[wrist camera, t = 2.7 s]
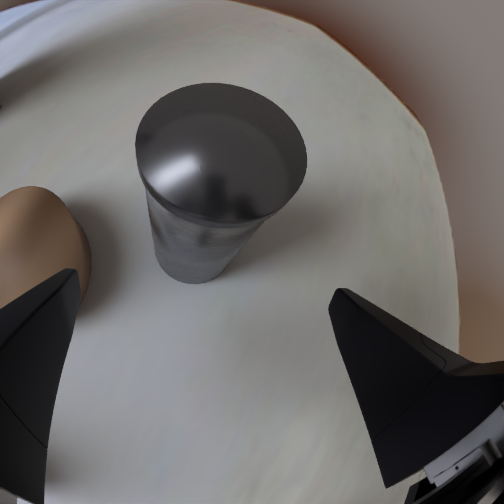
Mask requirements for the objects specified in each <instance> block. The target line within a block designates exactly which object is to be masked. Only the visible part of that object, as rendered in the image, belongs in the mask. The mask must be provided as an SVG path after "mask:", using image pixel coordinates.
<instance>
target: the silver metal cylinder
mask: <svg viewBox="0 0 504 504" xmlns="http://www.w3.org/2000/svg"><path fill="white" fill-rule="evenodd" d="M135 147H136V158H137V166H138V170H139V174H140V177H141V179H142V181H143V184H144V185H145V188H146V196H147V204H148V211H149V218H150V224H151V230H152V236H153V242H154V248H155V253H156V257H157V260H158V262H159V264H160V266H161V267H162V269H163V270H164V271H165V272H166V273H167V274H168V275H169V276H170V277H172V278H173V279H175V280H177V281H180V282H183V283H187V284H200V283H205V282H207V281H210V280H212V279H214V278H215V277H217V276H218V275H219V274H220V273H221V272H222V271H223V270H224V269H225V267H226V266H227V265H228V264H229V263H230V261H231V260H232V259H233V258H234V257H235V255H236V254H237V253H238V252H239V251H240V249H241V248H242V247H243V246H244V245H245V243H246V242H247V241H248V240H249V239H250V237H251V236H252V235H253V234H254V233H255V232H256V230H257V229H258V228H259V227H260V226H261V224H262V223H263V222H264V221H265V220H266V219H268V218H270V217H271V216H273V215H274V214H276V213H277V212H278V211H279V210H280V209H282V208H283V207H284V206H285V205H286V203H287V202H288V201H289V200H290V199H291V198H292V197H293V196H294V194H295V193H296V192H297V191H298V189H299V187H300V186H301V184H302V182H303V179H304V176H305V173H306V168H307V153H306V147H305V144H304V140H303V138H302V136H301V134H300V132H299V130H298V128H297V127H296V125H295V123H294V122H293V121H292V120H291V118H290V117H289V116H288V115H287V114H286V113H285V112H284V111H283V110H282V109H281V108H280V107H279V106H277V105H276V104H275V103H273V102H272V101H270V100H269V99H267V98H266V97H264V96H262V95H260V94H258V93H256V92H254V91H251V90H248V89H246V88H243V87H239V86H235V85H229V84H222V83H202V84H195V85H190V86H186V87H183V88H180V89H177V90H175V91H173V92H171V93H168V94H167V95H165V96H164V97H162V98H160V99H159V100H158V101H157V102H156V103H154V104H153V105H152V106H151V107H150V109H149V110H148V111H147V112H146V114H145V115H144V117H143V118H142V120H141V122H140V124H139V127H138V130H137V134H136V142H135Z"/></svg>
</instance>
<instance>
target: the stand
mask: <svg viewBox="0 0 504 504" xmlns="http://www.w3.org/2000/svg"><path fill="white" fill-rule="evenodd" d="M65 268H73V269H76V270H77V271H78V274H79V281H80V287H81V297H80V302H79V305H80V303H81V301H82V299H83V297H84V295H85V293H86V290H87V287H88V284H89V279H90V273H91V254H90V248H89V243H88V241H87V238H86V235H85V233H84V231H83V229H82V228H81V227H80V225H79V224H78V222H77V221H76V220H75V218H74V217H73V216H72V214H71V213H70V211H69V210H68V209H67V207H66V206H65V204H64V203H63V202H62V201H61V199H60V198H59V197H58V196H57V195H55V194H54V193H53V192H51V191H49V190H47V189H44V188H42V187H36V186H27V187H21V188H18V189H15V190H13V191H11V192H9V193H7V194H6V195H4V196H3V197H1V198H0V309H1V308H2V307H4V306H5V305H7V304H8V303H10V302H11V301H13V300H14V299H16V298H17V297H19V296H21V295H22V294H24V293H25V292H27V291H28V290H30V289H32V288H33V287H35V286H36V285H38V284H40V283H41V282H43V281H44V280H46V279H48V278H49V277H51V276H53V275H54V274H56V273H58V272H60V271H61V270H63V269H65Z"/></svg>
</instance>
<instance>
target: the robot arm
mask: <svg viewBox="0 0 504 504" xmlns="http://www.w3.org/2000/svg"><path fill="white" fill-rule="evenodd" d="M80 297H81V287H80V281H79V274H78V271H77V270H76V269H73V268H65V269H63V270H61V271H60V272H58V273H56V274H54V275H53V276H51V277H49V278H48V279H46V280H44V281H43V282H41V283H40V284H38V285H36V286H35V287H33V288H32V289H30V290H28V291H27V292H25V293H24V294H22V295H21V296H19V297H17V298H16V299H14V300H13V301H11V302H10V303H8V304H7V305H5V306H4V307H2V308H1V309H0V504H17V498H20V499H22V500H24V501H27V502H29V503H32V504H44V488H45V470H46V459H47V448H48V440H49V433H50V427H51V421H52V415H53V409H54V404H55V399H56V395H57V390H58V386H59V382H60V377H61V373H62V369H63V366H64V362H65V358H66V355H67V351H68V348H69V344H70V341H71V338H72V334H73V329H74V324H75V319H76V315H77V310H78V306H79V302H80ZM328 310H329V315H330V319H331V322H332V326H333V330H334V334H335V337H336V341H337V344H338V347H339V350H340V353H341V356H342V358H343V361H344V364H345V366H346V369H347V372H348V375H349V377H350V380H351V383H352V386H353V389H354V391H355V394H356V397H357V400H358V403H359V406H360V409H361V412H362V415H363V418H364V421H365V424H366V427H367V430H368V433H369V436H370V439H371V442H372V446H373V449H374V452H375V455H376V458H377V462H378V465H379V468H380V472H381V475H382V478H383V482H384V485H385V487H386V488H389V487H391V486H393V485H395V484H397V483H399V482H401V481H403V480H405V479H406V478H408V477H410V476H412V475H414V474H416V473H417V472H419V471H421V470H422V469H423V470H424V472H425V474H426V476H427V477H425V478H424V479H422V480H421V481H419V482H417V483H415V484H414V485H412V486H410V488H409V491H408V494H407V497H406V500H405V503H404V504H504V361H497V362H490V363H475V362H471V361H469V360H467V359H465V358H464V357H462V356H460V355H458V354H456V353H455V352H453V351H451V350H449V349H447V348H445V347H444V346H442V345H440V344H438V343H437V342H435V341H433V340H432V339H430V338H428V337H427V336H425V335H423V334H422V333H419V332H418V331H417V330H415V329H414V328H412V327H410V326H409V325H407V324H405V323H404V322H402V321H401V320H399V319H397V318H396V317H394V316H392V315H391V314H389V313H387V312H386V311H384V310H383V309H381V308H379V307H378V306H376V305H374V304H373V303H371V302H369V301H368V300H366V299H364V298H363V297H361V296H359V295H358V294H356V293H354V292H353V291H351V290H349V289H347V288H338V289H336V291H335V293H334V295H333V297H332V300H331V302H330V304H329V308H328Z"/></svg>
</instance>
